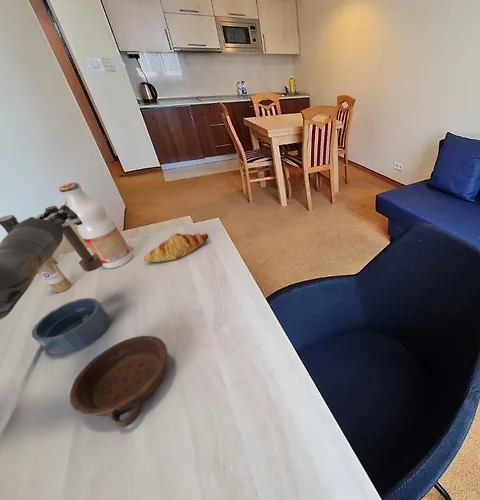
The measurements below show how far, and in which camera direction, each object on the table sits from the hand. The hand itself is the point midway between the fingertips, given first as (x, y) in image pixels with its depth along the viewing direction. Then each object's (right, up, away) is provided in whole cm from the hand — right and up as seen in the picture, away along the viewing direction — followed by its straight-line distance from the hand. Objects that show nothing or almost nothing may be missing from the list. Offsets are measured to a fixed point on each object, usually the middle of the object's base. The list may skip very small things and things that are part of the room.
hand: (59, 210), depth 76 cm
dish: (+26, -39, -11) cm, 48 cm away
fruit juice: (-8, -14, +30) cm, 34 cm away
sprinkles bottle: (-17, -22, +20) cm, 34 cm away
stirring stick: (+3, -14, +7) cm, 16 cm away
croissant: (+13, -11, +31) cm, 35 cm away
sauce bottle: (-34, -16, +31) cm, 48 cm away
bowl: (+3, -32, +3) cm, 32 cm away
